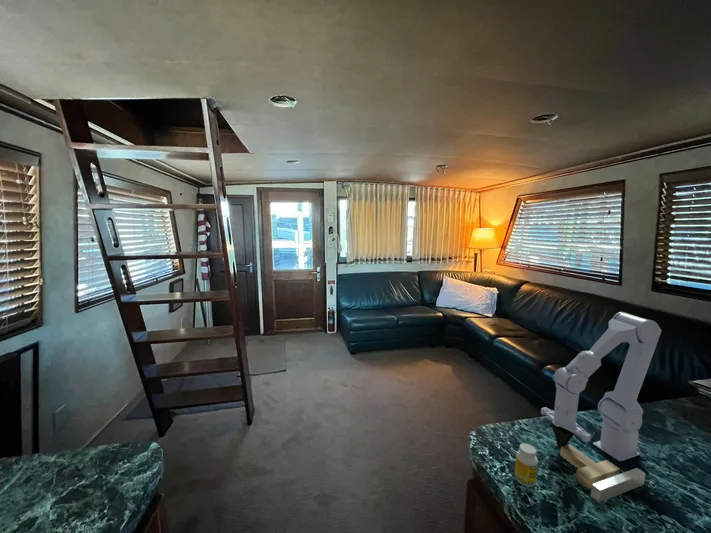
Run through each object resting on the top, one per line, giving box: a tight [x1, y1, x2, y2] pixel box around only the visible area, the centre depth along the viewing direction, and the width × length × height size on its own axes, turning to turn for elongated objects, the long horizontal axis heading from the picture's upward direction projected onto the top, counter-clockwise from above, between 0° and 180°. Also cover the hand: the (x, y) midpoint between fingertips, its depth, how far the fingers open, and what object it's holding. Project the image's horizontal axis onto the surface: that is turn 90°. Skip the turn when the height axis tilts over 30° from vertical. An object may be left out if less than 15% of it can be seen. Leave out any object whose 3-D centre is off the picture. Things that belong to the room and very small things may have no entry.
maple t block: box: [559, 443, 621, 490], centre depth 89 cm, size 12×12×3 cm
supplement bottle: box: [514, 442, 539, 488], centre depth 84 cm, size 5×5×10 cm
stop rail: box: [590, 467, 646, 503], centre depth 82 cm, size 18×2×4 cm, turn 109°
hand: (561, 447), depth 96 cm, fingers closed
